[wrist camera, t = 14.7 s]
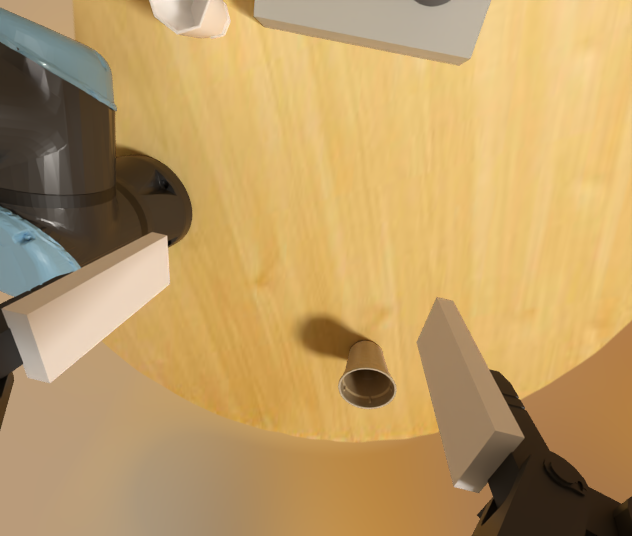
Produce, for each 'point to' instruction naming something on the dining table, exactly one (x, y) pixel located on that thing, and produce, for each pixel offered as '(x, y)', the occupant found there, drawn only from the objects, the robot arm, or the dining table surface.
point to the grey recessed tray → (384, 24)
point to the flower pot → (367, 377)
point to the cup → (193, 17)
